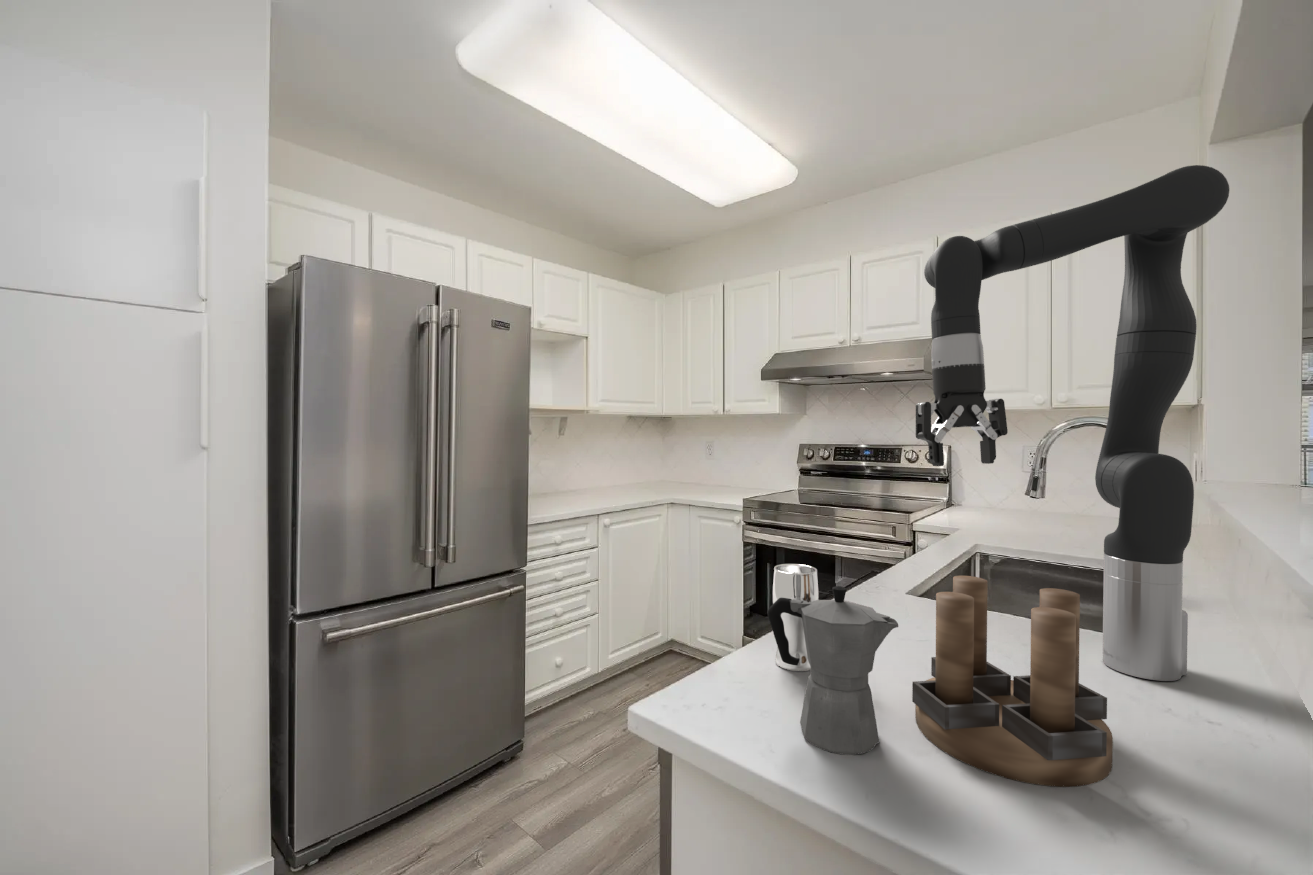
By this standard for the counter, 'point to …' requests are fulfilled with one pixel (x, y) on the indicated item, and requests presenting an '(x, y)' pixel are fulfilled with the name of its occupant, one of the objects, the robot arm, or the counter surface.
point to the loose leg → (976, 617)
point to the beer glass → (799, 586)
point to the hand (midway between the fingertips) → (963, 464)
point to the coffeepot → (836, 669)
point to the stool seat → (1016, 700)
